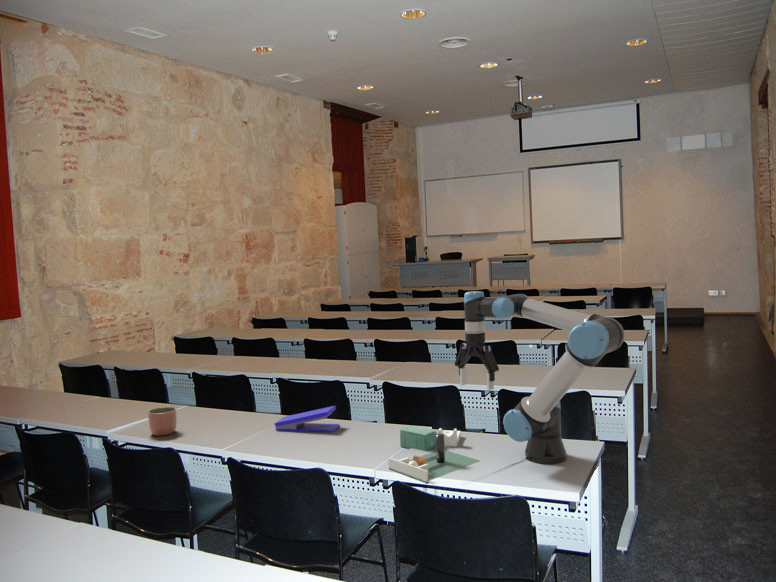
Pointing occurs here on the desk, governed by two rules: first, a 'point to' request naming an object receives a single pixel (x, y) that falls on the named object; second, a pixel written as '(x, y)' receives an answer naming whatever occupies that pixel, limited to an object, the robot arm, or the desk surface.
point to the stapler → (299, 421)
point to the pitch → (431, 466)
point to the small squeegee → (438, 456)
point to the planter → (162, 420)
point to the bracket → (450, 437)
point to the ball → (413, 463)
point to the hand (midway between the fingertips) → (476, 387)
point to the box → (417, 438)
